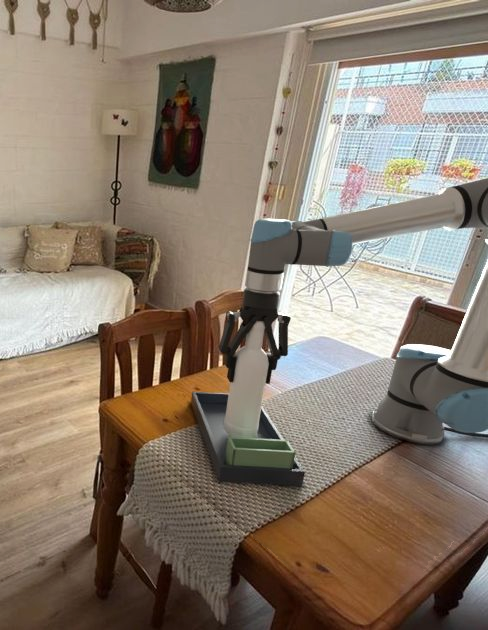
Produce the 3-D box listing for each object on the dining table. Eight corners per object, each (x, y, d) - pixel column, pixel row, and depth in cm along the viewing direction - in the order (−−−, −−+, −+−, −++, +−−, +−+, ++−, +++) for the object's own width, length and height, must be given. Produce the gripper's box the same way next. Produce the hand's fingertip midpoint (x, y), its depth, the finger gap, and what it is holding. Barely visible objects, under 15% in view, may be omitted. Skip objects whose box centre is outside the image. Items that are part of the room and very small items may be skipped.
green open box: (223, 462, 101) (227, 436, 99) (281, 466, 100) (287, 439, 98) (229, 475, 97) (233, 449, 94) (289, 479, 96) (295, 452, 93)
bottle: (251, 423, 114) (269, 314, 104) (261, 441, 106) (281, 326, 97) (220, 421, 114) (235, 313, 105) (227, 439, 107) (244, 324, 97)
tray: (190, 403, 128) (192, 391, 127) (252, 406, 127) (254, 394, 125) (219, 481, 96) (221, 466, 95) (301, 486, 95) (305, 471, 94)
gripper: (303, 286, 101) (286, 375, 108) (211, 283, 103) (201, 371, 110) (317, 295, 94) (298, 390, 101) (219, 292, 96) (207, 385, 103)
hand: (247, 380), depth 106 cm, fingers closed on bottle, 8 cm apart
